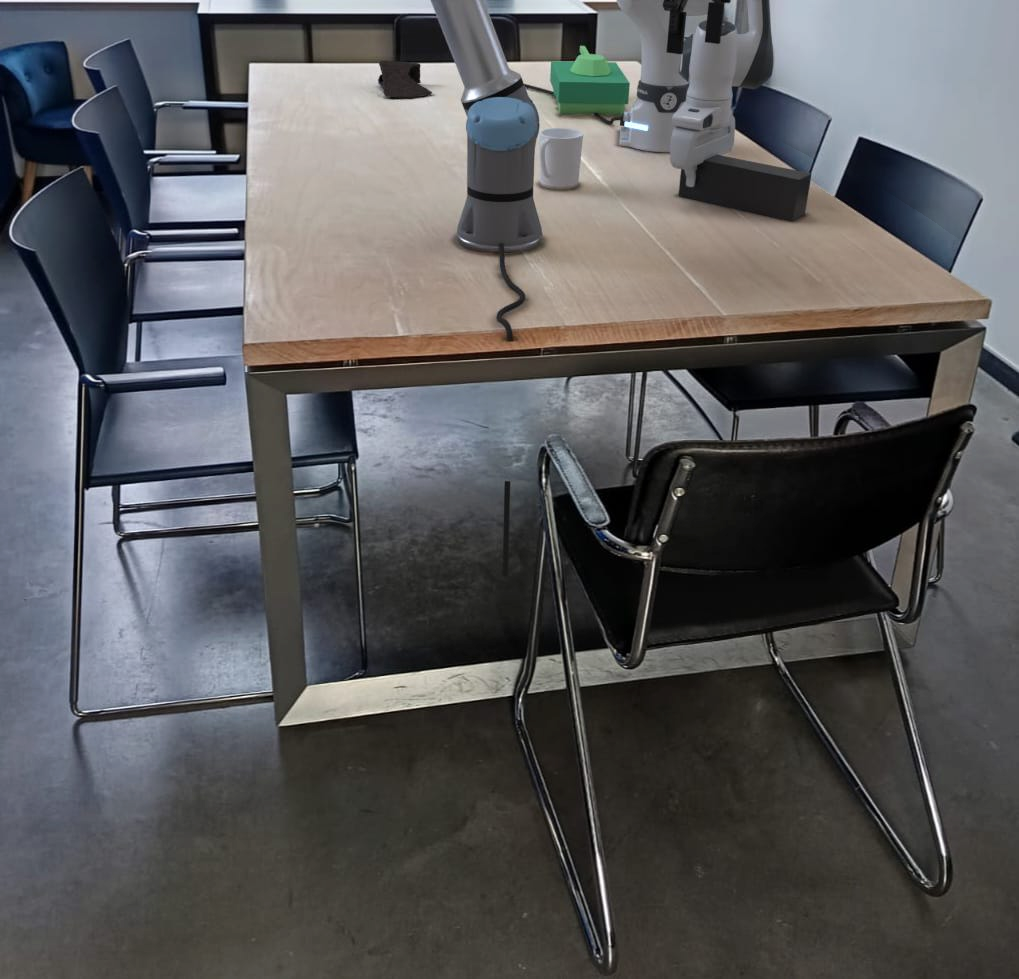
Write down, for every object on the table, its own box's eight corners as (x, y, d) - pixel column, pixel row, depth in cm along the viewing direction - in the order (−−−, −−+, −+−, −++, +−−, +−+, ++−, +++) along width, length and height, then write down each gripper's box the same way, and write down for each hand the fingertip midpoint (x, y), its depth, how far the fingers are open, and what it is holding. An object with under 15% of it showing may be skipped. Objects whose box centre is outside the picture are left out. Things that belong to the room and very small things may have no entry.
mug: (554, 175, 232) (556, 125, 226) (589, 183, 227) (592, 132, 222) (522, 186, 224) (523, 135, 219) (557, 195, 220) (559, 142, 214)
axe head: (443, 87, 294) (392, 77, 287) (436, 115, 299) (385, 106, 292) (421, 62, 307) (371, 52, 300) (414, 89, 311) (365, 80, 304)
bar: (805, 214, 213) (811, 173, 208) (792, 221, 209) (799, 179, 205) (691, 189, 225) (696, 150, 221) (678, 195, 221) (682, 155, 217)
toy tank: (613, 42, 301) (631, 67, 272) (609, 89, 308) (626, 118, 278) (549, 41, 300) (560, 66, 271) (547, 88, 307) (557, 117, 277)
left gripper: (722, -95, 189) (708, 36, 200) (648, -89, 172) (638, 55, 183) (762, -93, 185) (745, 41, 196) (690, -86, 168) (677, 60, 179)
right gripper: (718, 100, 222) (710, 168, 229) (667, 117, 208) (660, 190, 215) (746, 105, 219) (737, 174, 226) (696, 123, 205) (688, 196, 212)
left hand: (693, 48), depth 190 cm, fingers open, 13 cm apart
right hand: (699, 182), depth 220 cm, fingers closed on bar, 5 cm apart
